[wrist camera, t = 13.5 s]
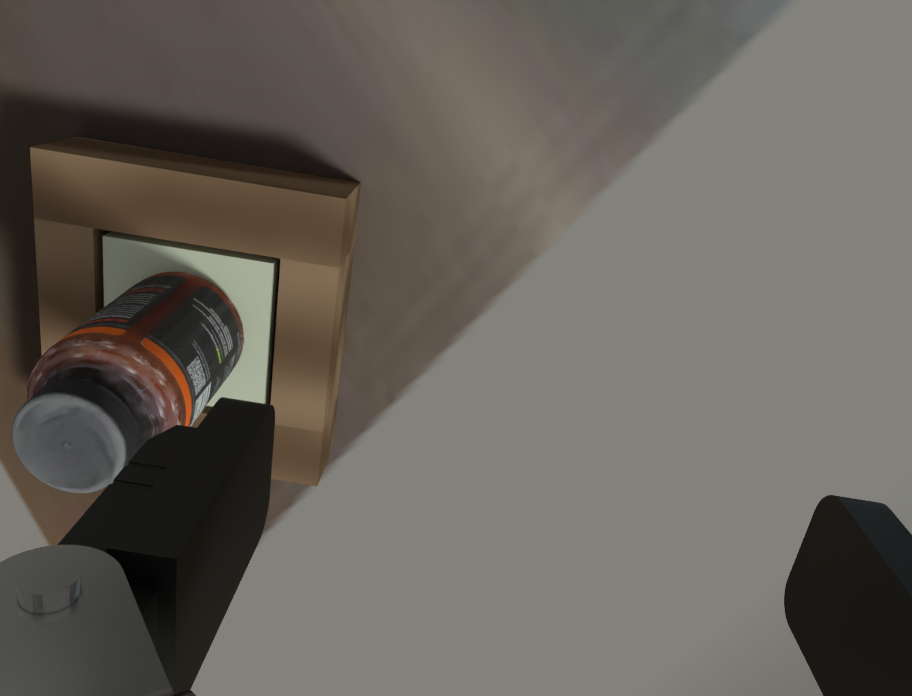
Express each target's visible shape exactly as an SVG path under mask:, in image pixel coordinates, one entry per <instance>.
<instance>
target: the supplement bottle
mask: <svg viewBox="0 0 912 696" xmlns="http://www.w3.org/2000/svg"><path fill="white" fill-rule="evenodd" d="M243 345H244V332H243V324H242V321H241V319H240V315H239V313H238V311H237V309H236V308H235V306H234V304H233V303H232V302H231V300H230V299H229V298H228V297H227V295H226V294H225V293H224V292H223V291H221V290H220V289H219V288H218V287H217V286H215V285H214V284H212V283H210V282H209V281H207V280H205V279H203V278H201V277H198V276H196V275H192V274H189V273H185V272H164V273H159V274H155V275H152V276H150V277H147V278H145V279H143V280H142V281H140V282H139V283H137V284H135V285H134V286H132V287H131V288H129V289H128V290H127V291H125V292H124V293H123V294H121V295H120V296H119V297H117V298H116V299H115V300H113V301H112V302H111V303H109V304H108V305H107V306H105V307H104V308H102V309H101V310H100V311H99V312H97V313H96V314H94V315H93V316H92V317H91V318H89V319H88V320H86V321H85V322H84V323H82V324H81V325H80V326H78V327H77V328H75V329H74V330H73V331H71V332H70V333H69V334H67V335H66V336H65V337H63V338H62V339H61V340H59V341H58V342H57V343H55V344H54V345H53V346H51V347H50V348H49V349H48V350H47V351H46V352H45V353H44V354H43V355H42V356H41V358H40V359H39V360H38V362H37V363H36V365H35V367H34V369H33V370H32V372H31V375H30V378H29V381H28V385H27V402H26V403H25V404H24V405H23V406H22V407H21V408H20V409H19V411H18V412H17V414H16V416H15V418H14V421H13V424H12V434H11V435H12V441H13V445H14V449H15V452H16V453H17V455H18V457H19V459H20V460H21V462H22V463H23V465H24V466H25V467H26V469H27V470H28V471H29V472H30V473H31V474H33V475H34V476H35V477H36V478H38V479H39V480H40V481H42V482H44V483H46V484H47V485H49V486H51V487H54V488H56V489H59V490H62V491H67V492H70V493H91V492H95V491H97V490H100V489H102V488H105V487H107V486H108V485H109V484H112V483H113V480H114V478H115V477H116V476H117V475H118V474H119V472H120V471H121V470H122V469H123V468H124V467H125V466H128V464H129V461H130V459H131V458H132V457H133V456H134V455H135V454H136V452H137V451H138V450H139V449H140V448H141V447H142V445H143V444H144V443H145V442H146V441H147V440H149V439H150V438H152V437H154V436H156V435H158V434H160V433H162V432H164V431H166V430H168V429H170V428H171V427H173V426H175V425H183V426H189V427H191V425H192V424H193V423H194V421H195V420H196V419H197V417H198V416H199V415H200V413H201V412H202V411H203V409H204V408H205V407H206V405H207V404H208V403H209V401H210V400H211V399H212V397H213V396H214V395H215V393H216V392H217V391H218V389H219V388H220V387H221V385H222V384H223V383H224V382H225V380H226V379H227V377H228V376H229V375H230V373H231V372H232V370H233V369H234V367H235V366H236V364H237V362H238V361H239V358H240V356H241V353H242V350H243Z"/></svg>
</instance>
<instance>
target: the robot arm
mask: <svg viewBox="0 0 912 696" xmlns="http://www.w3.org/2000/svg"><path fill="white" fill-rule="evenodd" d="M274 430H275V409H274V406H273V405H269V404H263V403H256V402H250V401H244V400H238V399H231V398H225V397H221V398H220V399H219V400H218V401H217V402H216V403H215V405H214V406H213V407H212V409H211V410H210V411H209V413H208V414H207V415H206V417H205V418H204V419H203V421H202V422H201V423H200V424H199V426H198V427H197V428H195V427H189V426H183V425H175V426H173V427H171V428H170V429H168V430H166V431H164V432H162V433H160V434H158V435H156V436H154V437H152V438H150V439H149V440H147V441H146V442H145V443H144V444H143V445H142V447H141V448H140V449H139V450H138V451H137V452H136V454H135V455H134V456H133V457H132V458H131V459H130V461H129V464H128V466H125V467H124V468H123V469H122V470H121V471H120V472H119V474H118V475H117V476H116V477H115V478H114V480H113V484H109V485H108V486H107V488H106V489H105V490H104V491H103V492H102V493H101V495H100V496H99V497H98V498H97V499H96V500H95V502H94V503H93V504H92V505H91V506H90V508H89V509H88V510H87V511H86V512H85V513H84V515H83V516H82V517H81V518H80V519H79V520H78V522H77V523H76V524H75V525H74V526H73V527H72V529H71V530H70V531H69V532H68V533H67V534H66V536H65V537H64V538H63V539H62V540H61V541H60V543H59V544H58V545H53V546H46V547H40V548H36V549H33V550H29V551H25V552H22V553H20V554H17V555H15V556H12V557H10V558H8V559H6V560H4V561H2V562H0V696H196V695H195V694H194V693H193V692H192V691H190V689H191V687H192V685H193V683H194V681H195V678H196V676H197V674H198V672H199V670H200V668H201V665H202V663H203V661H204V659H205V657H206V654H207V652H208V650H209V648H210V646H211V644H212V642H213V640H214V637H215V635H216V633H217V631H218V629H219V627H220V624H221V622H222V620H223V618H224V616H225V614H226V612H227V609H228V607H229V605H230V603H231V601H232V599H233V596H234V594H235V592H236V590H237V588H238V585H239V583H240V581H241V579H242V577H243V575H244V573H245V570H246V568H247V566H248V564H249V562H250V559H251V558H252V555H253V553H254V551H255V549H256V547H257V545H258V542H259V540H260V538H261V535H262V532H263V529H264V525H265V521H266V517H267V512H268V506H269V498H270V485H271V471H272V458H273V444H274ZM784 606H785V614H786V619H787V622H788V625H789V627H790V629H791V631H792V633H793V635H794V637H795V639H796V641H797V643H798V645H799V647H800V649H801V651H802V653H803V655H804V657H805V659H806V661H807V663H808V665H809V667H810V669H811V671H812V673H813V675H814V677H815V679H816V681H817V683H818V685H819V687H820V689H821V692H822V693H823V696H912V535H911V534H910V532H909V531H908V530H907V529H906V528H905V526H904V525H903V524H902V523H901V522H900V521H899V519H898V518H897V517H896V516H895V514H894V513H893V512H892V511H891V510H890V509H889V508H888V507H887V506H886V505H885V504H882V503H877V502H871V501H865V500H859V499H852V498H846V497H840V496H833V495H828V496H826V497H824V498H823V499H822V500H821V501H820V502H819V504H818V505H817V507H816V509H815V511H814V514H813V516H812V519H811V522H810V524H809V526H808V529H807V532H806V534H805V537H804V539H803V542H802V544H801V547H800V549H799V552H798V554H797V557H796V559H795V562H794V565H793V567H792V569H791V572H790V575H789V577H788V580H787V583H786V588H785V596H784Z"/></svg>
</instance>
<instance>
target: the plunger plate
mask: <svg viewBox="0 0 912 696" xmlns="http://www.w3.org/2000/svg"><path fill="white" fill-rule="evenodd" d="M278 265H279V258H274V257H268V256H262V255H256V254H250V253H243V252H237V251H231V250H225V249H219V248H213V247H206V246H200V245H194V244H188V243H182V242H175V241H169V240H163V239H157V238H151V237H145V236H138V235H132V234H126V233H120V232H114V231H111V232H109V233H107V234H105V235H104V236H103V278H104V307H105V306H107V305H108V304H109V303H111V302H112V301H113V300H115V299H116V298H117V297H119V296H120V295H121V294H123V293H124V292H125V291H127V290H128V289H129V288H131V287H132V286H134V285H135V284H137V283H139V282H140V281H142V280H143V279H145V278H147V277H150V276H152V275H155V274H159V273H164V272H185V273H189V274H192V275H196V276H198V277H201V278H203V279H205V280H207V281H209V282H210V283H212V284H214V285H215V286H217V287H218V288H219V289H220V290H221V291H223V292H224V293H225V294H226V295H227V297H228V298H229V299H230V300H231V302H232V303H233V304H234V306H235V308H236V309H237V311H238V313H239V315H240V319H241V321H242V324H243V332H244V345H243V350H242V353H241V356H240V358H239V361H238V362H237V364H236V366H235V367H234V369H233V370H232V372H231V373H230V375H229V376H228V377H227V379H226V380H225V382H224V383H223V384H222V385H221V387H220V388H219V389H218V391H217V392H216V393H215V395H214V396H213V397H212V399H211V400H210V401H209V403H208V404H207V405H206V406H212V407H213V406H214V405H215V403H216V402H217V401H218V400H219V399H220V398H221V397H225V398H231V399H238V400H244V401H250V402H256V403H263V404H269V397H270V382H271V367H272V353H273V338H274V324H275V309H276V294H277V280H278Z"/></svg>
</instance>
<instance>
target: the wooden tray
mask: <svg viewBox="0 0 912 696" xmlns="http://www.w3.org/2000/svg"><path fill="white" fill-rule="evenodd" d="M30 158H31V175H32V193H33V211H34V229H35V246H36V264H37V282H38V299H39V317H40V335H41V353H42V355H43V354H44V353H45V352H46V351H47V350H48V349H49V348H50V347H51V346H53V345H54V344H55V343H57V342H58V341H59V340H61V339H62V338H63V337H65V336H66V335H67V334H69V333H70V332H71V331H73V330H74V329H75V328H77V327H78V326H80V325H81V324H82V323H84V322H85V321H86V320H88V319H89V318H91V317H92V316H93V315H94V314H96V313H97V312H99V311H100V310H101V309H102V308H104V278H103V236H104V235H105V234H107V233H109V232H111V231H114V232H120V233H126V234H132V235H138V236H145V237H151V238H157V239H163V240H169V241H175V242H182V243H188V244H194V245H200V246H206V247H213V248H219V249H225V250H231V251H237V252H243V253H250V254H256V255H262V256H268V257H274V258H280V273H279V288H278V302H277V317H276V331H275V345H274V360H273V374H272V386H270V397H269V405H273V406H274V409H275V430H274V444H273V458H272V471H271V479H275V480H281V481H288V482H294V483H301V484H307V485H313V486H318V483H319V481H320V478H321V475H322V473H323V470H324V468H325V465H326V463H327V460H328V458H329V455H330V452H331V450H332V447H333V437H334V428H335V418H336V409H337V400H338V390H339V381H340V371H341V362H342V352H343V343H344V334H345V324H346V315H347V305H348V296H349V287H350V277H351V268H352V258H353V249H354V239H355V230H356V221H357V211H358V202H359V192H360V183H359V182H353V181H347V180H341V179H335V178H329V177H323V176H317V175H310V174H304V173H298V172H292V171H286V170H280V169H274V168H268V167H262V166H256V165H249V164H243V163H237V162H231V161H225V160H219V159H213V158H207V157H201V156H194V155H188V154H182V153H176V152H170V151H164V150H158V149H152V148H146V147H139V146H133V145H127V144H121V143H115V142H109V141H103V140H97V139H91V138H84V137H78V136H74V137H70V138H66V139H62V140H58V141H54V142H50V143H45V144H41V145H37V146H33V147H30ZM211 409H212V406H206V407H205V408H204V409H203V411H202V412H201V413H200V415H199V416H198V417H197V419H196V420H195V421H194V423H193V424H192V425H191V427H195V428H197V427H198V426H199V424H200V423H201V422H202V421H203V419H204V418H205V417H206V415H207V414H208V413H209V411H210V410H211Z"/></svg>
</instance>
